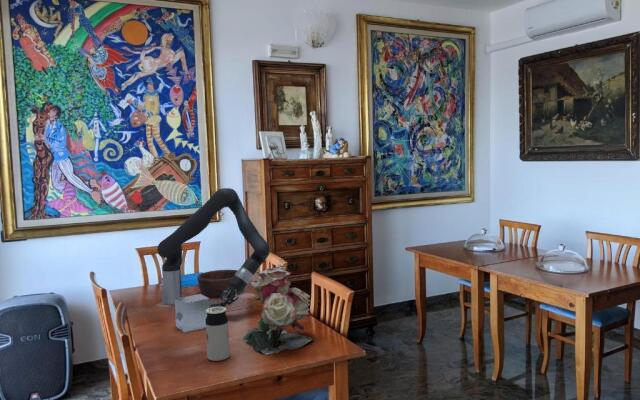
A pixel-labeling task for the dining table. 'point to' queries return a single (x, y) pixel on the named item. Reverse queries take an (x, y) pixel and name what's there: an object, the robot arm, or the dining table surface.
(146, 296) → the dining table surface
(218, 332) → the travel mug
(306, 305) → the rose bouquet
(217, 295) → the wooden bowl
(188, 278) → the book
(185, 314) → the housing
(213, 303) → the dark boxy piece
